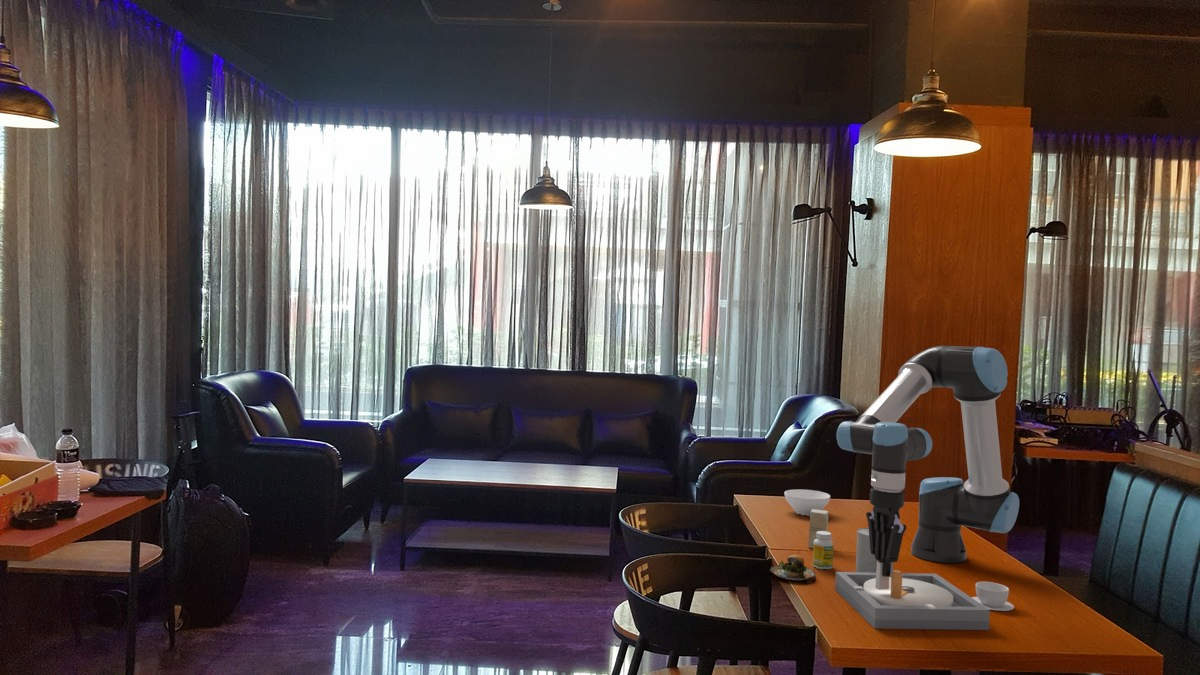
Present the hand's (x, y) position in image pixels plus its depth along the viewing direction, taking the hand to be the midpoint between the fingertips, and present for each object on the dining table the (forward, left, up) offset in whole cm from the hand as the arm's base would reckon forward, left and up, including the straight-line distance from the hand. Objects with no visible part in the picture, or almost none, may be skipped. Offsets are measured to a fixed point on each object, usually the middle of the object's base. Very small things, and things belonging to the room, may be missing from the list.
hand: (882, 588), depth 189 cm
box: (-2, -55, -6) cm, 55 cm away
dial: (-7, -3, -3) cm, 8 cm away
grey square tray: (-7, -3, -6) cm, 10 cm away
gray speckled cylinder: (-8, -26, -6) cm, 27 cm away
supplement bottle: (+3, -35, -6) cm, 35 cm away
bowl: (-12, -99, -6) cm, 99 cm away
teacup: (-30, -6, -6) cm, 31 cm away
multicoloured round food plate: (+14, -26, -6) cm, 30 cm away
